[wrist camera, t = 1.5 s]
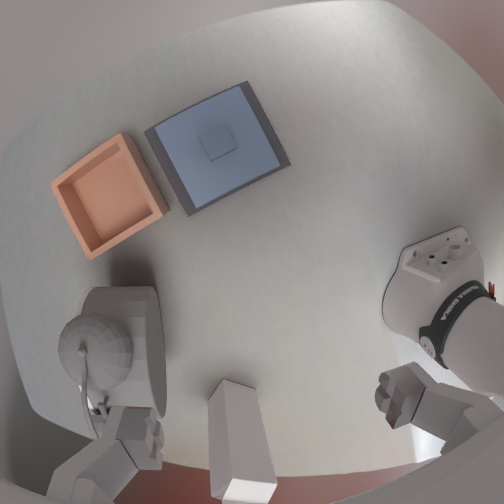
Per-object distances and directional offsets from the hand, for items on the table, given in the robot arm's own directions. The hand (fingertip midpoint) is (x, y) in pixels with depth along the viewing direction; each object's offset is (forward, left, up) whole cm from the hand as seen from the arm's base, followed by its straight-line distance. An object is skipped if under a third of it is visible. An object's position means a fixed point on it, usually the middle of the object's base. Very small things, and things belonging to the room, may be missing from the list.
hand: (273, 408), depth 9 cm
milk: (+12, +23, -29) cm, 39 cm away
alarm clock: (+16, +4, -29) cm, 33 cm away
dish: (+10, -12, -28) cm, 32 cm away
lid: (-4, -11, -28) cm, 30 cm away
